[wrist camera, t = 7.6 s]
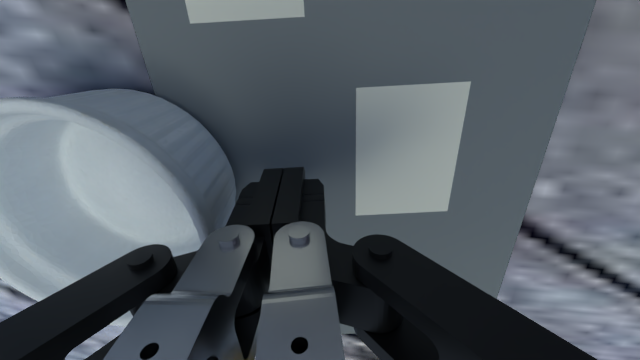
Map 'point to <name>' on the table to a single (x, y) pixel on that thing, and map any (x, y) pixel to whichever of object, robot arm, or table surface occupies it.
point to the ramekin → (102, 185)
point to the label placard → (380, 107)
